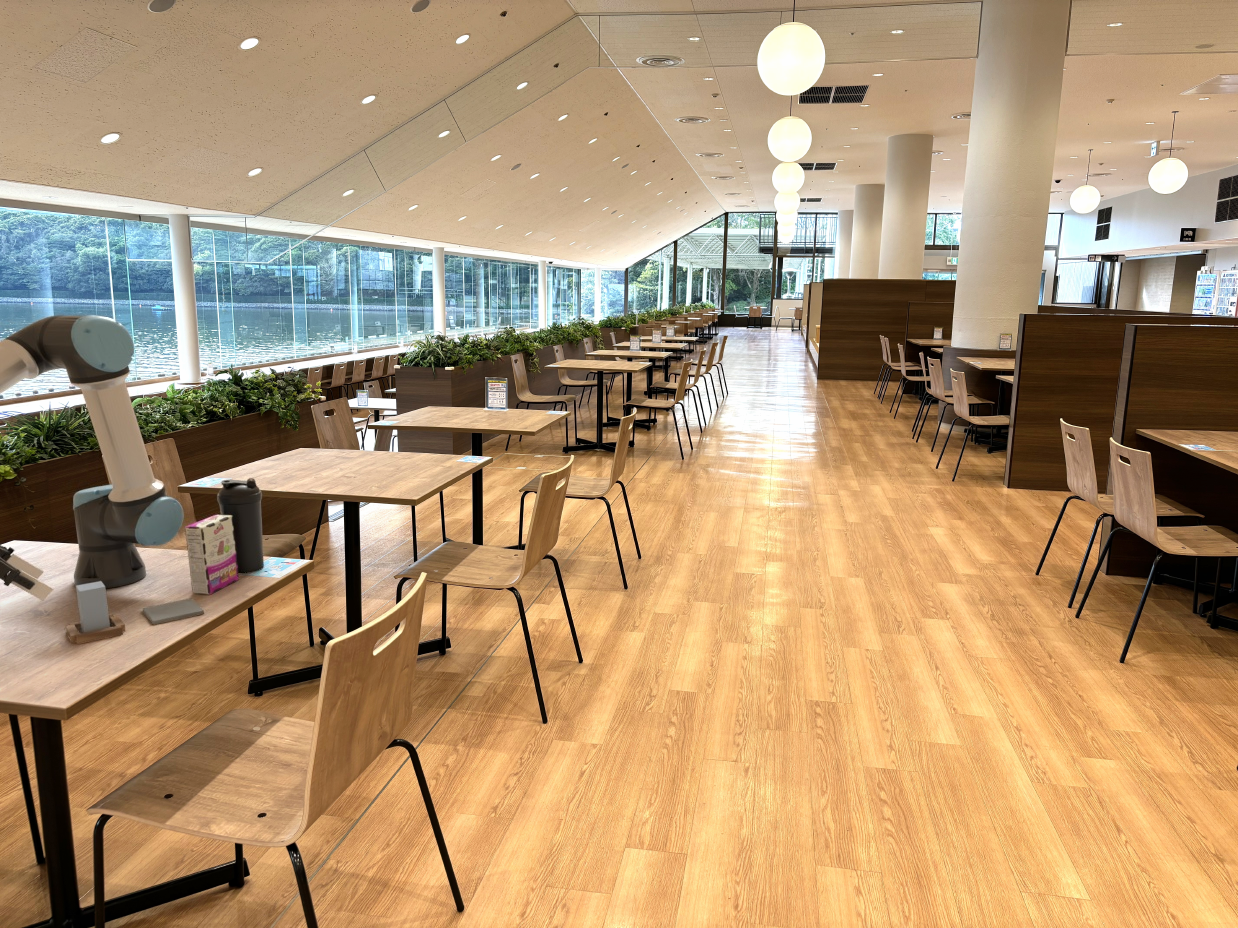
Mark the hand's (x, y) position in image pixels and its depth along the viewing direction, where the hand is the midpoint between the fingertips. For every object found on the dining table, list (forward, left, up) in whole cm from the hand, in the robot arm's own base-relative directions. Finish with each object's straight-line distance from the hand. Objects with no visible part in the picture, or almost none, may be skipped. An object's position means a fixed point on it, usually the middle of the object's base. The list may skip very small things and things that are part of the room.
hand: (43, 585), depth 170 cm
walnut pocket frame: (-1, +8, -12) cm, 14 cm away
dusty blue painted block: (-1, +8, -12) cm, 14 cm away
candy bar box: (-15, +35, -12) cm, 40 cm away
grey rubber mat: (-3, +23, -12) cm, 26 cm away
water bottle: (-25, +45, -12) cm, 53 cm away
